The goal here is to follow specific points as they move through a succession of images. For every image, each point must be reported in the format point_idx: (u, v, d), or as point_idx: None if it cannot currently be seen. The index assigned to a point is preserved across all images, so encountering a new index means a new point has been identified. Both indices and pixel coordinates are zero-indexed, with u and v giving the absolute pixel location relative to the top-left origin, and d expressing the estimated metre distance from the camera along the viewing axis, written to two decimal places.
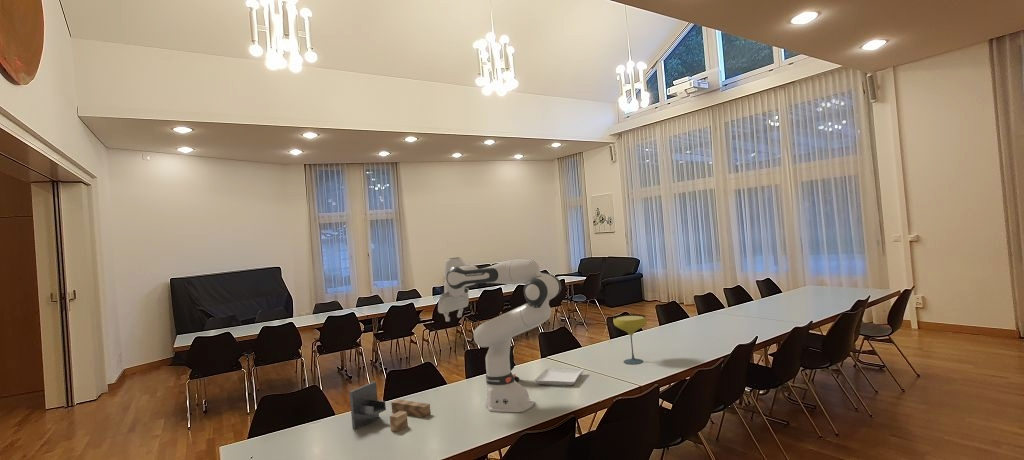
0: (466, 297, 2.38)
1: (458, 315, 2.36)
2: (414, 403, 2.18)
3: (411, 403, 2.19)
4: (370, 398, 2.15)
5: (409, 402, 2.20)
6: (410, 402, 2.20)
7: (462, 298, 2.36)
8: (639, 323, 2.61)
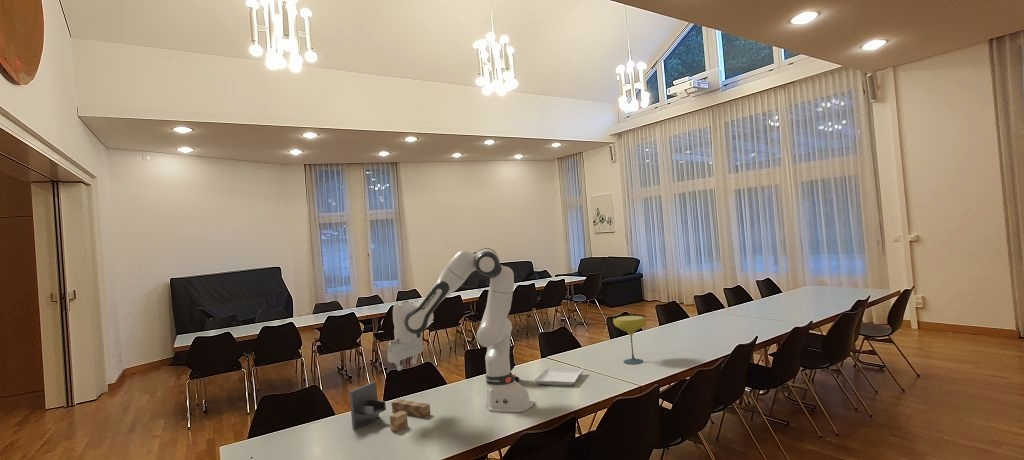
0: (420, 342, 2.25)
1: (412, 362, 2.23)
2: (414, 403, 2.18)
3: (411, 403, 2.19)
4: (370, 398, 2.15)
5: (409, 402, 2.20)
6: (411, 402, 2.20)
7: (415, 343, 2.23)
8: (639, 323, 2.61)
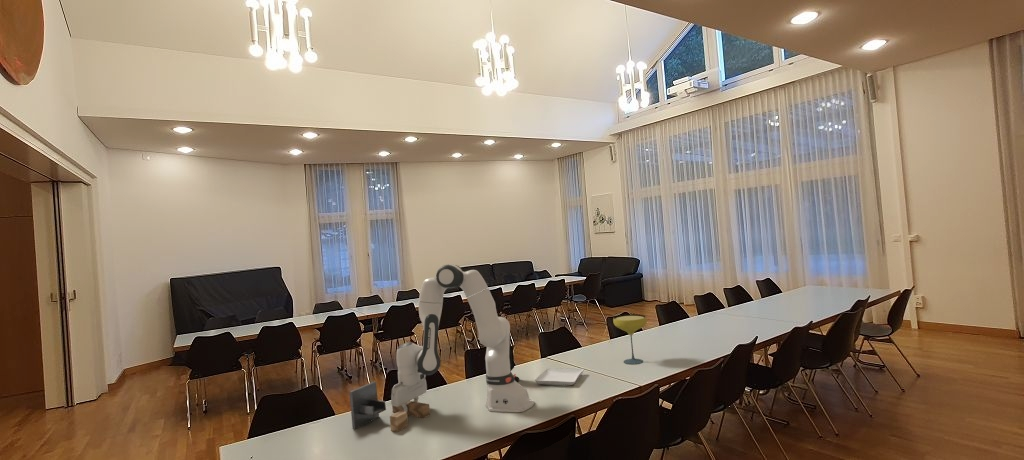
0: (423, 383, 2.25)
1: None
2: (414, 403, 2.18)
3: (411, 403, 2.19)
4: (370, 398, 2.15)
5: (409, 402, 2.20)
6: (411, 402, 2.20)
7: (419, 385, 2.23)
8: (639, 323, 2.61)
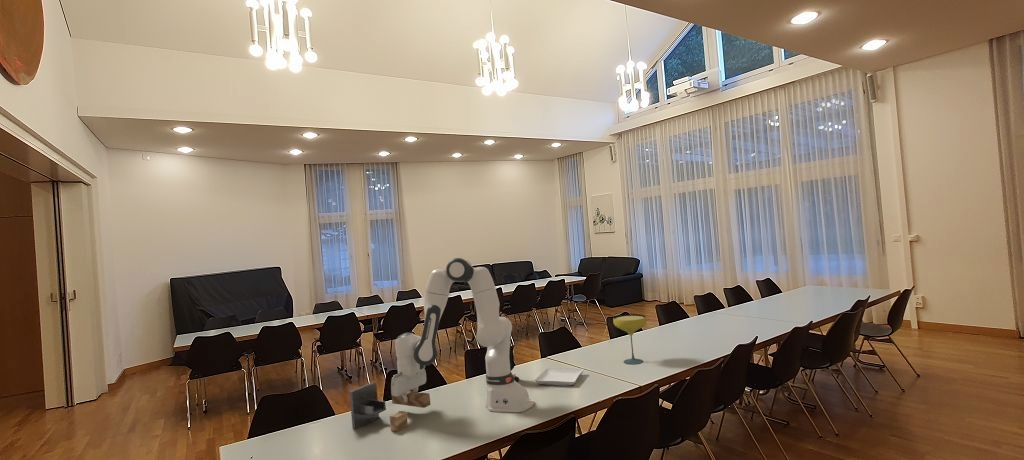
0: (423, 373, 2.25)
1: None
2: (414, 393, 2.18)
3: (411, 393, 2.18)
4: (370, 398, 2.15)
5: (409, 392, 2.19)
6: (410, 392, 2.20)
7: (418, 375, 2.23)
8: (639, 323, 2.61)
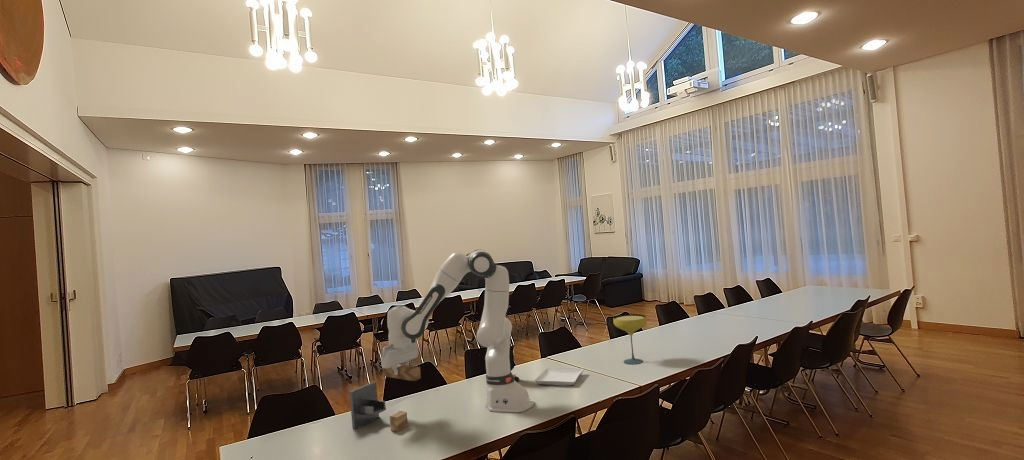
0: (415, 347, 2.22)
1: None
2: (404, 366, 2.15)
3: (401, 366, 2.16)
4: (370, 398, 2.15)
5: (399, 365, 2.17)
6: (401, 365, 2.17)
7: (410, 349, 2.20)
8: (639, 323, 2.61)
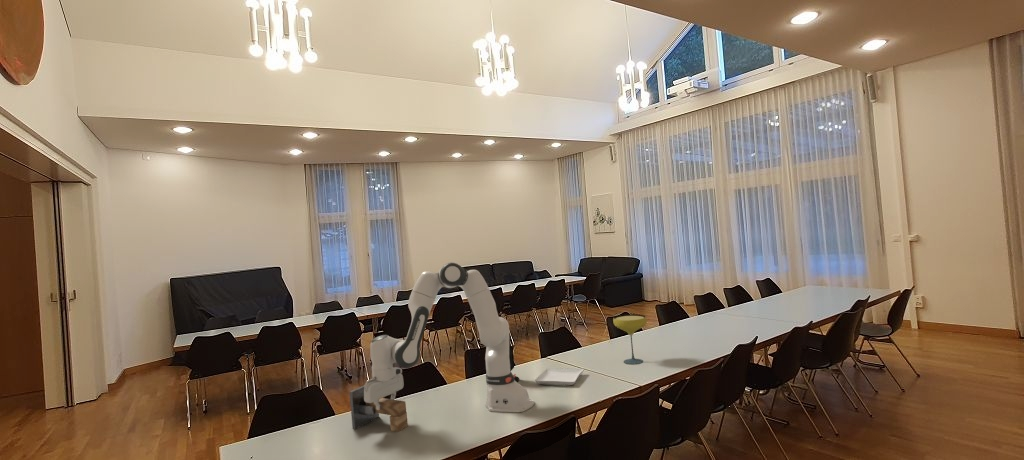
0: (400, 378, 2.12)
1: None
2: (389, 400, 2.05)
3: (386, 400, 2.06)
4: None
5: (384, 400, 2.07)
6: (385, 399, 2.07)
7: (395, 380, 2.10)
8: (639, 323, 2.61)
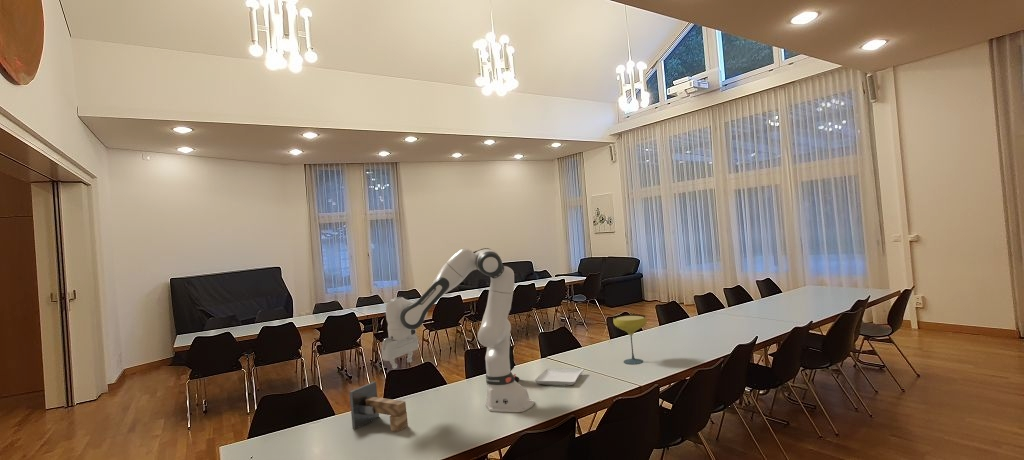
0: (415, 339, 2.19)
1: (408, 360, 2.17)
2: (389, 400, 2.05)
3: (386, 400, 2.06)
4: None
5: (384, 400, 2.07)
6: (385, 399, 2.07)
7: (410, 341, 2.17)
8: (639, 323, 2.61)
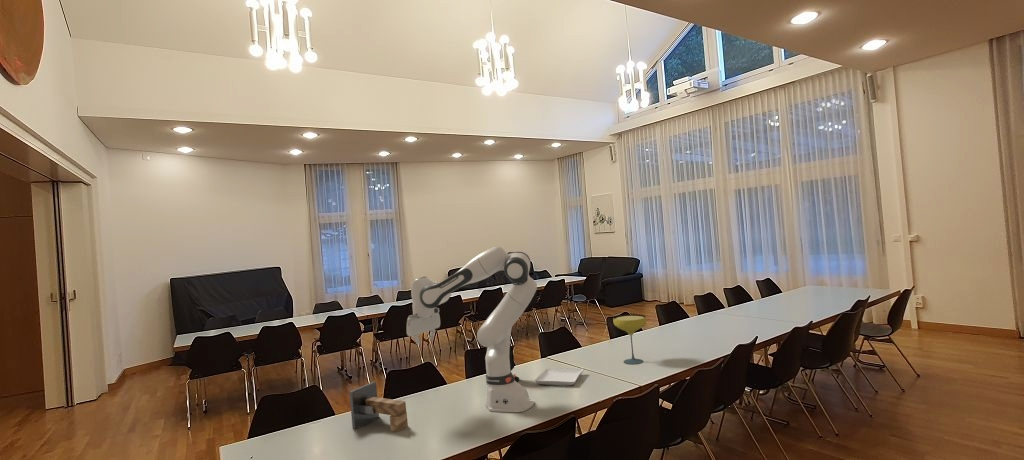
0: (437, 317, 2.29)
1: (430, 337, 2.27)
2: (389, 400, 2.05)
3: (386, 400, 2.06)
4: None
5: (384, 400, 2.07)
6: (385, 399, 2.07)
7: (433, 319, 2.27)
8: (639, 323, 2.61)
